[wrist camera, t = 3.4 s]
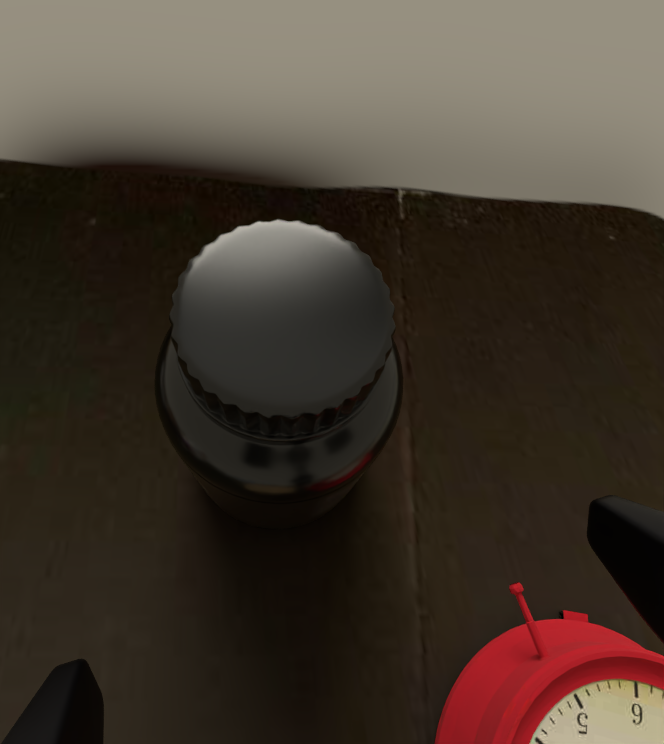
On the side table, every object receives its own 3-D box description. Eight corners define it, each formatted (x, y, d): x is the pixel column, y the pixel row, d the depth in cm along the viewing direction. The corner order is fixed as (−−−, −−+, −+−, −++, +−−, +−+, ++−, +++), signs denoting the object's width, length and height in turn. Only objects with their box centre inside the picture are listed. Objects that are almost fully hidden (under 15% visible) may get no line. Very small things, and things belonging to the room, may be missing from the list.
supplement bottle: (160, 473, 21) (35, 344, 10) (257, 346, 24) (240, 131, 13) (305, 568, 20) (339, 540, 9) (389, 425, 23) (493, 269, 12)
